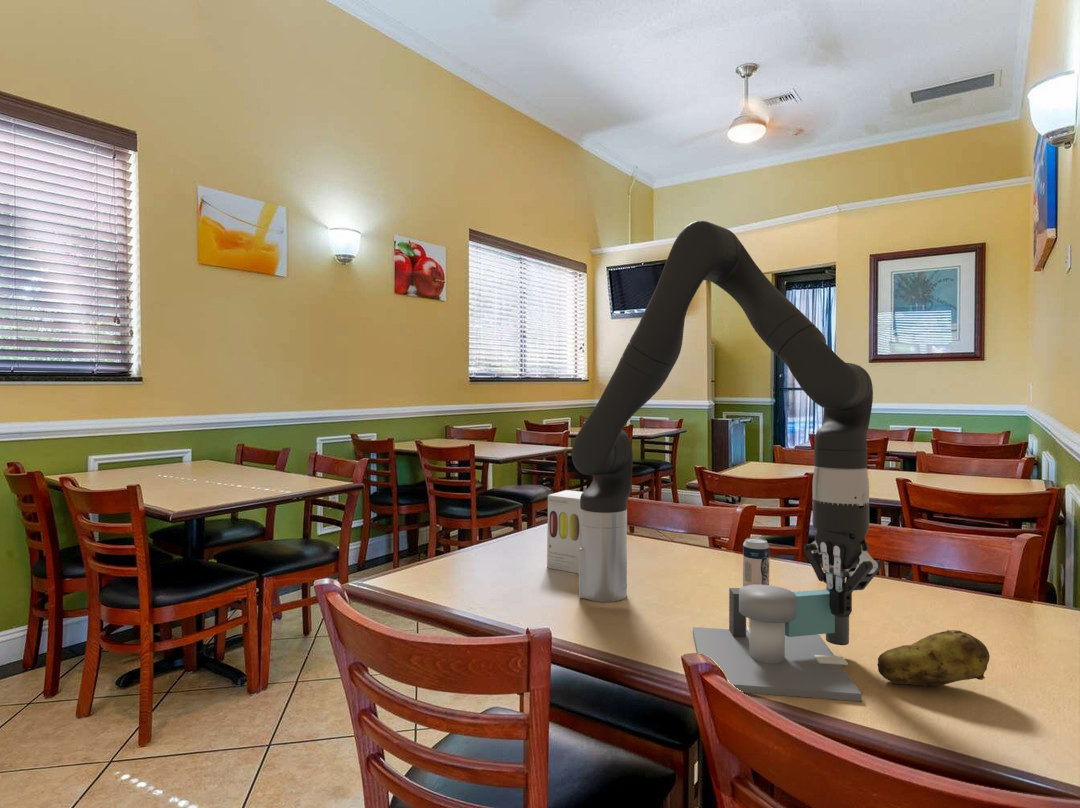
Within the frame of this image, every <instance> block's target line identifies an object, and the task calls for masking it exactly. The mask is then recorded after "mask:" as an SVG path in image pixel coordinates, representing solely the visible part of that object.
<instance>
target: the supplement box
mask: <svg viewBox="0 0 1080 808" xmlns="http://www.w3.org/2000/svg"><path fill="white" fill-rule="evenodd" d="M583 492H584V491H578V490H577V491H576V490H570V489H565V490H561V491H558V492H554V493H550V494H548V495H547V536H546V537H547V547H546V558H547V559H546V568H548V569H554V570H558V571H562V572H569V573H574V574H578V575H579V548H580V497H581V494H582V493H583Z"/></svg>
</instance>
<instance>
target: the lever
mask: <svg viewBox="0 0 1080 808" xmlns="http://www.w3.org/2000/svg"><path fill="white" fill-rule="evenodd" d="M825 584H826V583H825ZM825 586H826V587H825V588H824V589H812V590H802V591H801V590H799V591H792V590H790V589H787V588H784V587H780V586H776V585H770V584H769V585H747V586H743V585H742V586H741V587H739V588H740V589H739V612H740V613H741V614H742V615H743V616H745V617H746V619H749V618H750V619H753V620H756V621H761V622H768V623H785V635H786V636H788V637H796V636H807V635H825V641H826V642H828V643H830V644H832V645H836V646H847V645H849V644H850V615H849V616H848V617H842V618H840V617H838V616H835V615H833V614H831V610H830V606H829V588H828V587H827V584H826V585H825Z"/></svg>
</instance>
